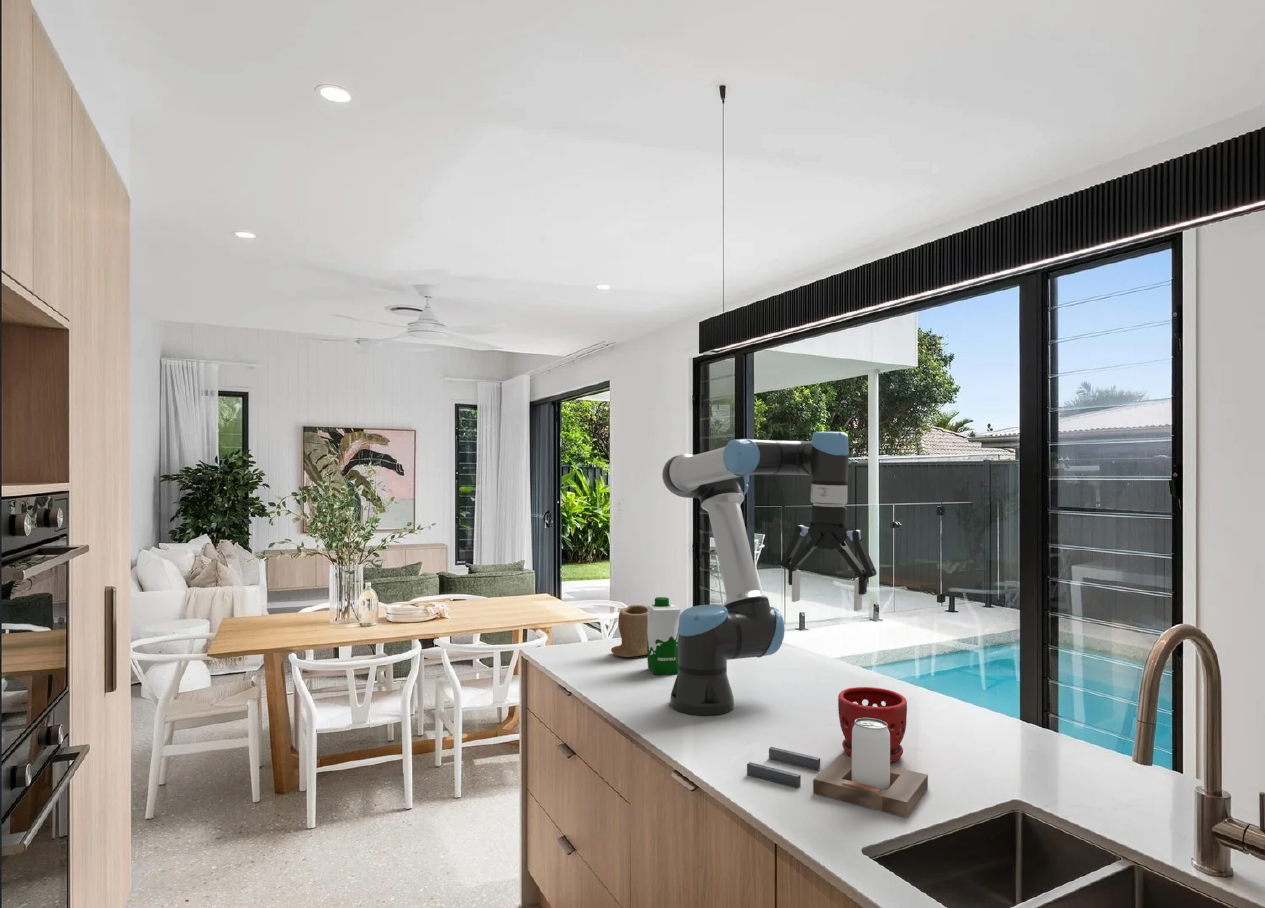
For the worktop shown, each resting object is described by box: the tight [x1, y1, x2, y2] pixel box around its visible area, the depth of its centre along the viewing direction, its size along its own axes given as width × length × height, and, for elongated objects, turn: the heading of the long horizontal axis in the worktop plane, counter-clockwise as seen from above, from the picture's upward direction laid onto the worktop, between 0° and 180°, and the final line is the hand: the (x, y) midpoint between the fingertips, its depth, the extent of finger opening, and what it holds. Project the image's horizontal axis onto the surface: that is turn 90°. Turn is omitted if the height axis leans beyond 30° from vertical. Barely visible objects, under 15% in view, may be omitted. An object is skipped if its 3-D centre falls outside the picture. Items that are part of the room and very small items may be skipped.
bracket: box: [746, 746, 821, 789], centre depth 144 cm, size 10×11×2 cm
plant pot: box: [837, 686, 908, 763], centre depth 152 cm, size 13×13×12 cm
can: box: [851, 718, 891, 790], centre depth 136 cm, size 6×6×12 cm
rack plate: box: [812, 754, 929, 818], centre depth 135 cm, size 16×14×3 cm
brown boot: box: [610, 604, 648, 658], centre depth 232 cm, size 15×12×15 cm
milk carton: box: [646, 596, 682, 676], centre depth 214 cm, size 9×9×20 cm
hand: (825, 605), depth 162 cm, fingers open, 13 cm apart
